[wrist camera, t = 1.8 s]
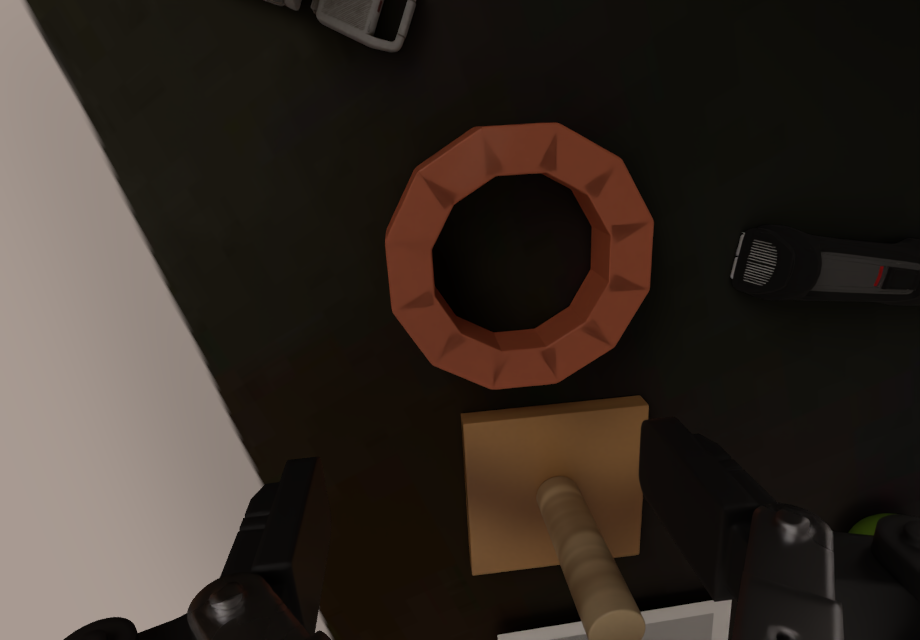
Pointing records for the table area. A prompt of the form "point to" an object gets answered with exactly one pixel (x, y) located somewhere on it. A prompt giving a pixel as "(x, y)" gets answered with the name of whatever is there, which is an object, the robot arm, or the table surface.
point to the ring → (598, 299)
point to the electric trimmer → (826, 268)
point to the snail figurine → (867, 524)
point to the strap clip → (356, 19)
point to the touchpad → (652, 624)
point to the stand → (560, 500)
